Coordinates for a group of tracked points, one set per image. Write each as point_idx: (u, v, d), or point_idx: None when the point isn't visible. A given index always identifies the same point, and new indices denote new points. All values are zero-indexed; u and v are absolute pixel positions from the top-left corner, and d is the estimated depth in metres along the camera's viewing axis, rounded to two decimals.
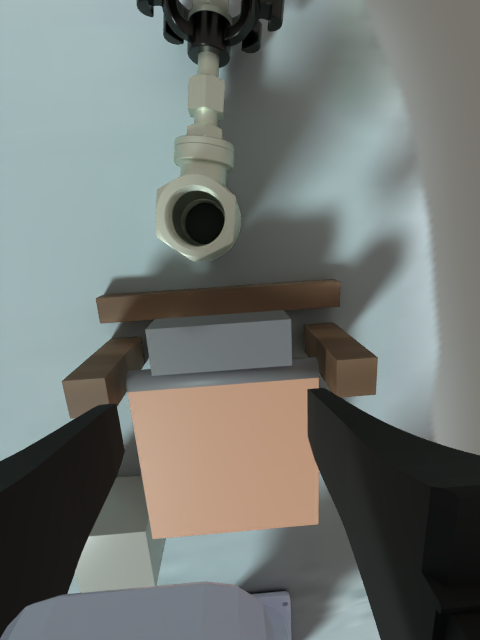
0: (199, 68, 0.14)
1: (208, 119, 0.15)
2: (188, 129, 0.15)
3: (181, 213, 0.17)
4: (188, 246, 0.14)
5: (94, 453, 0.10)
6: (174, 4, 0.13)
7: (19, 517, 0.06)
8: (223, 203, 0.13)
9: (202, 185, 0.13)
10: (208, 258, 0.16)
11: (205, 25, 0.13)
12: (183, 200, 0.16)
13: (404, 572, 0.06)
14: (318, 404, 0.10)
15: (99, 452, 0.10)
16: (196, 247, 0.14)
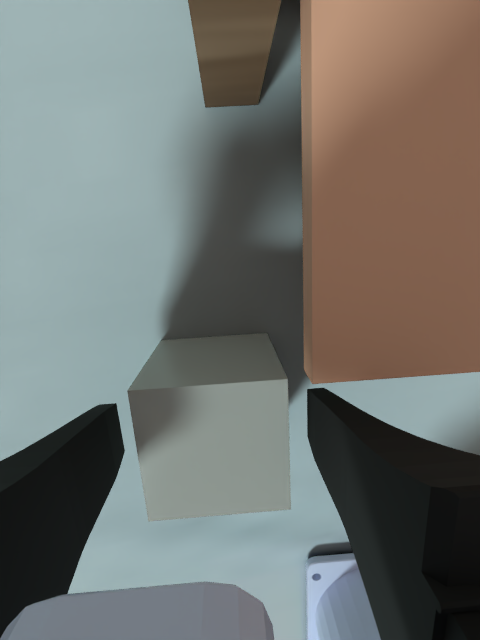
0: None
1: None
2: None
3: None
4: None
5: (94, 453, 0.10)
6: None
7: (19, 518, 0.06)
8: None
9: None
10: None
11: None
12: None
13: (404, 572, 0.06)
14: (318, 404, 0.10)
15: (99, 452, 0.10)
16: None
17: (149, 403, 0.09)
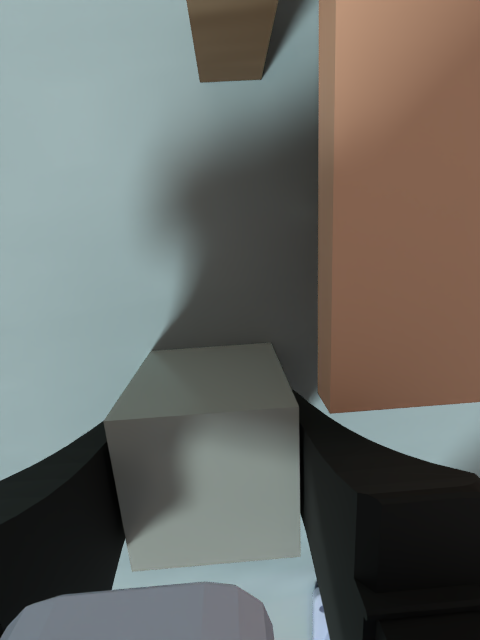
0: None
1: None
2: None
3: None
4: None
5: None
6: None
7: (74, 513, 0.06)
8: None
9: None
10: None
11: None
12: None
13: (343, 578, 0.06)
14: None
15: None
16: None
17: (131, 436, 0.08)
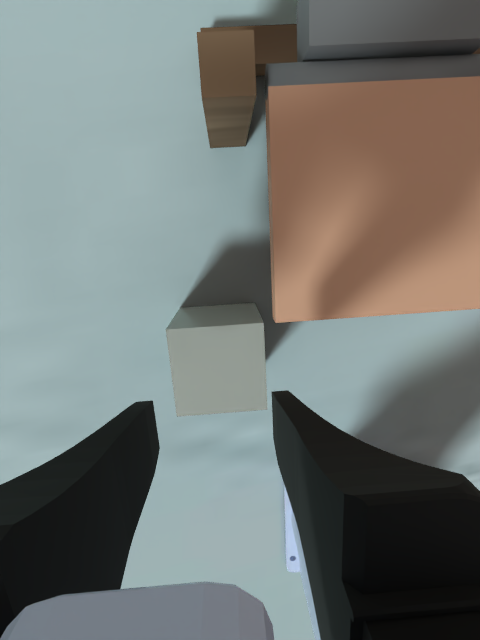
0: None
1: None
2: None
3: None
4: None
5: (137, 449, 0.10)
6: None
7: (84, 512, 0.06)
8: None
9: None
10: None
11: None
12: None
13: (332, 579, 0.06)
14: (278, 407, 0.10)
15: (141, 449, 0.10)
16: None
17: (179, 337, 0.15)
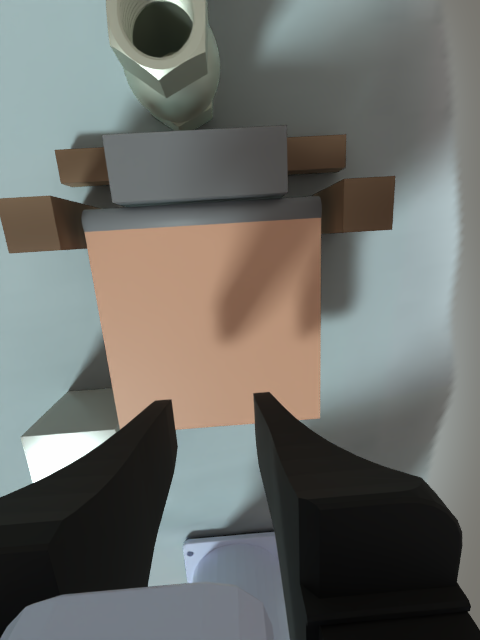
0: None
1: None
2: None
3: None
4: (150, 57, 0.11)
5: (160, 448, 0.10)
6: None
7: (118, 509, 0.06)
8: None
9: None
10: (182, 105, 0.13)
11: None
12: (148, 33, 0.13)
13: (294, 582, 0.06)
14: (257, 409, 0.10)
15: (163, 447, 0.10)
16: (160, 59, 0.11)
17: (34, 444, 0.16)
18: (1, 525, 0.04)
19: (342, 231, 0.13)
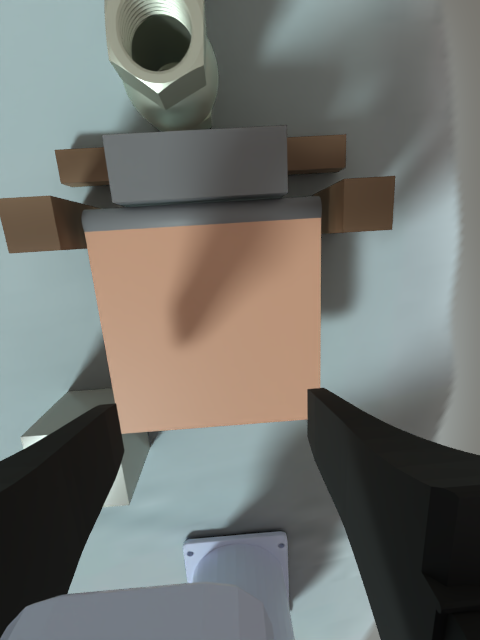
0: None
1: None
2: None
3: None
4: (149, 71, 0.11)
5: (94, 453, 0.10)
6: None
7: (19, 518, 0.06)
8: (188, 6, 0.10)
9: None
10: (181, 116, 0.13)
11: None
12: (147, 45, 0.13)
13: (404, 572, 0.06)
14: (318, 404, 0.10)
15: (99, 452, 0.10)
16: (159, 73, 0.11)
17: None
18: None
19: (342, 231, 0.13)
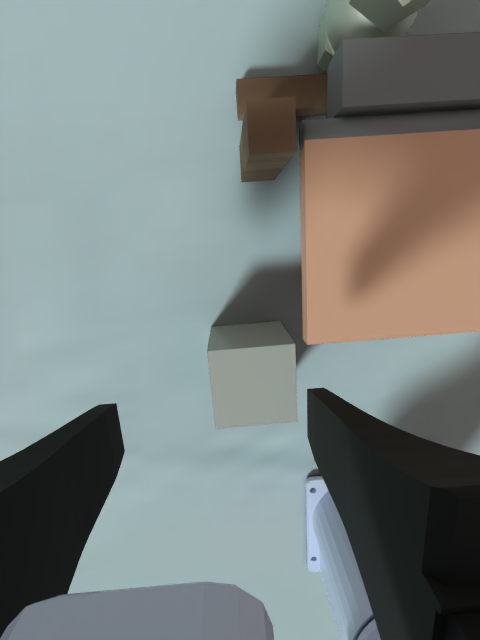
0: None
1: None
2: None
3: None
4: None
5: (94, 453, 0.10)
6: None
7: (19, 518, 0.06)
8: None
9: None
10: None
11: None
12: None
13: (404, 572, 0.06)
14: (318, 404, 0.10)
15: (99, 452, 0.10)
16: None
17: (219, 358, 0.17)
18: None
19: None
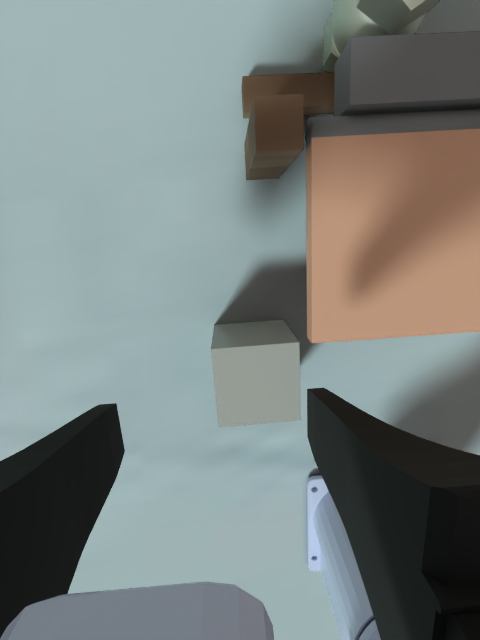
0: None
1: None
2: None
3: None
4: None
5: (94, 453, 0.10)
6: None
7: (19, 517, 0.06)
8: None
9: None
10: None
11: None
12: None
13: (404, 572, 0.06)
14: (318, 404, 0.10)
15: (99, 452, 0.10)
16: None
17: (222, 356, 0.17)
18: None
19: None
